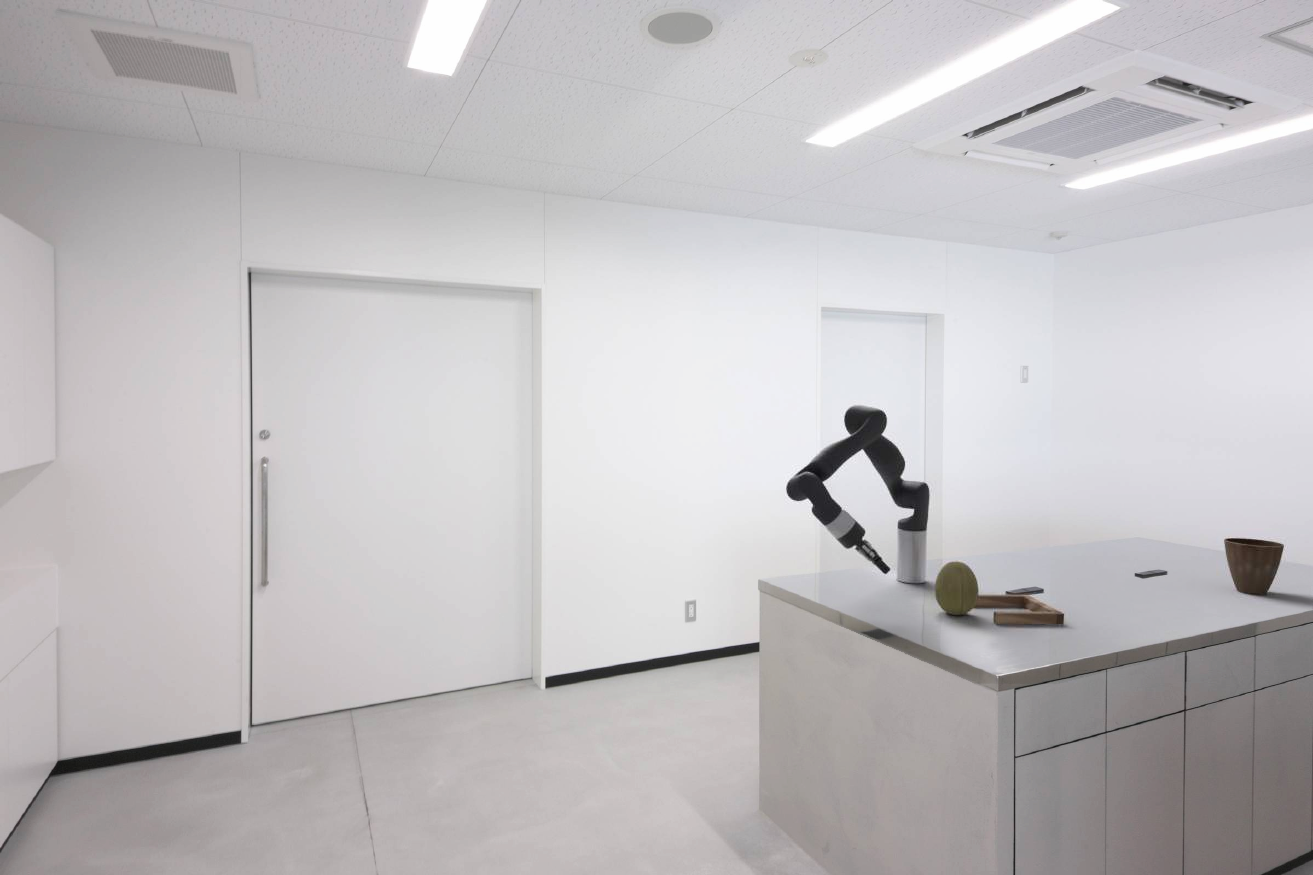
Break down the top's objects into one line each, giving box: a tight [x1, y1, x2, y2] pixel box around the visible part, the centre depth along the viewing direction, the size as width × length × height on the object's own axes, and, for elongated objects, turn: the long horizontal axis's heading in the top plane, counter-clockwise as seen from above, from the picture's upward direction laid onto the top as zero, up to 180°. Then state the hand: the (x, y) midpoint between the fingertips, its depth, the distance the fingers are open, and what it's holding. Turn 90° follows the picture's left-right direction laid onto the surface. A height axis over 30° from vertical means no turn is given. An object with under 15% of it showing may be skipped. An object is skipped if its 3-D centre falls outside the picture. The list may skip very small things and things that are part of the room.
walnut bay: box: [973, 594, 1065, 626], centre depth 214 cm, size 20×18×3 cm
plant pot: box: [1223, 537, 1285, 596], centre depth 240 cm, size 15×15×16 cm
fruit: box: [934, 560, 979, 616], centre depth 213 cm, size 11×11×15 cm
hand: (887, 571), depth 213 cm, fingers closed
